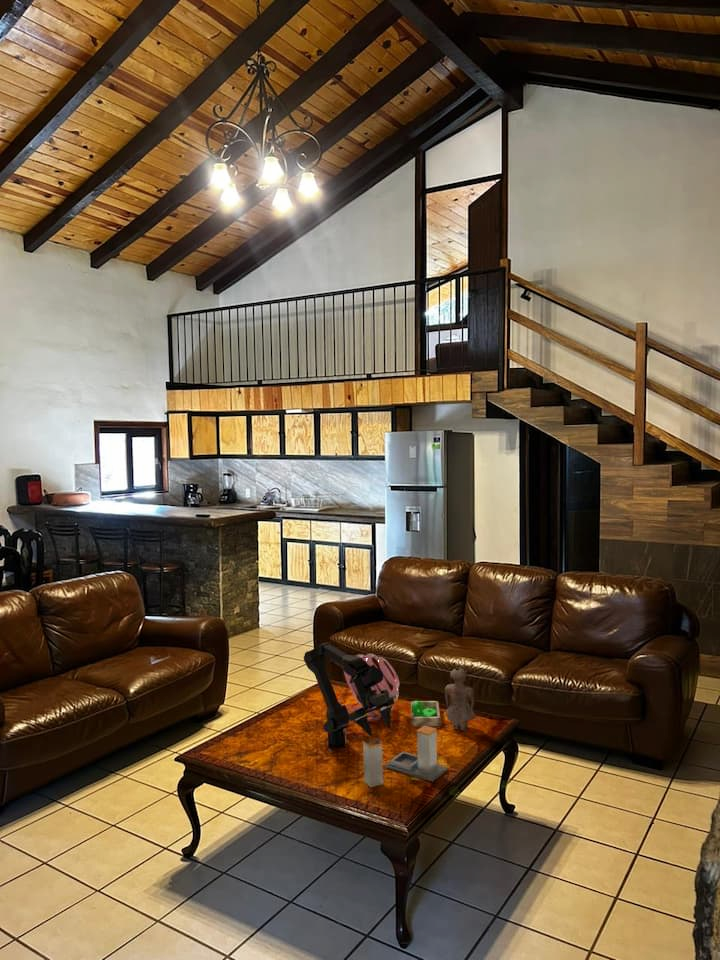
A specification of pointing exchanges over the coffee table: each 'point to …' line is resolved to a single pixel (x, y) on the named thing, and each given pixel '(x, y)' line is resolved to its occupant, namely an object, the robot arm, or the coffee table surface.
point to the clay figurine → (459, 700)
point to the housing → (420, 757)
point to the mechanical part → (419, 712)
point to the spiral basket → (382, 685)
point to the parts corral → (427, 720)
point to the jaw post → (373, 762)
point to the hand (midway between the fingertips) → (380, 731)
